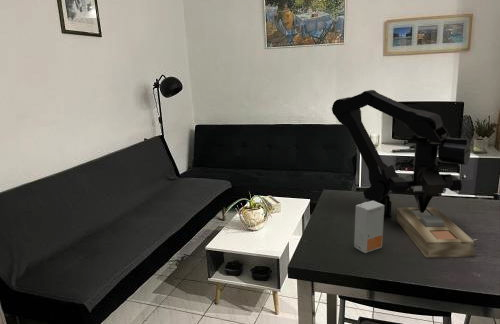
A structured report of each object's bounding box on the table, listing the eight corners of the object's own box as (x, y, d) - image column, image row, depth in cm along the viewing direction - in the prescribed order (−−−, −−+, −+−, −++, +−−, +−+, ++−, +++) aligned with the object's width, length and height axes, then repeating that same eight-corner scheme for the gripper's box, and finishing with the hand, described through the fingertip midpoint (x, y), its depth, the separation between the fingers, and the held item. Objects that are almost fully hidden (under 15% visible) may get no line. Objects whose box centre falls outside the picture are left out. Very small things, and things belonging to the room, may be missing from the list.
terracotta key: (437, 247, 93) (437, 239, 93) (429, 239, 98) (430, 231, 97) (455, 247, 93) (456, 238, 93) (447, 238, 97) (448, 231, 97)
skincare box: (365, 254, 95) (367, 210, 92) (353, 247, 99) (354, 204, 96) (383, 247, 98) (385, 204, 95) (370, 241, 102) (372, 199, 98)
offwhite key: (416, 223, 107) (416, 216, 106) (410, 217, 111) (411, 210, 111) (432, 223, 107) (432, 216, 106) (425, 217, 111) (426, 210, 110)
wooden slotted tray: (426, 257, 92) (427, 242, 91) (396, 220, 113) (397, 207, 112) (472, 256, 92) (474, 241, 91) (434, 219, 113) (435, 206, 112)
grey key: (426, 230, 100) (426, 222, 99) (419, 223, 104) (420, 215, 103) (443, 229, 99) (444, 221, 99) (436, 222, 104) (437, 215, 103)
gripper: (400, 168, 97) (397, 224, 101) (475, 166, 96) (469, 223, 100) (387, 158, 108) (385, 209, 112) (455, 155, 107) (450, 207, 111)
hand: (421, 212), depth 108 cm, fingers closed
